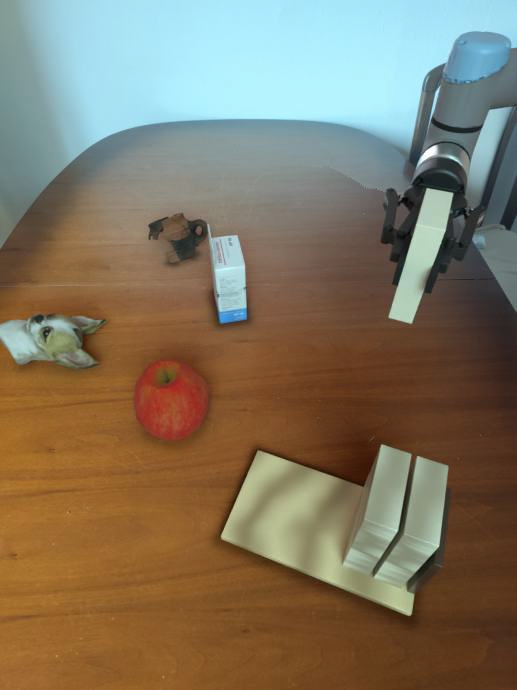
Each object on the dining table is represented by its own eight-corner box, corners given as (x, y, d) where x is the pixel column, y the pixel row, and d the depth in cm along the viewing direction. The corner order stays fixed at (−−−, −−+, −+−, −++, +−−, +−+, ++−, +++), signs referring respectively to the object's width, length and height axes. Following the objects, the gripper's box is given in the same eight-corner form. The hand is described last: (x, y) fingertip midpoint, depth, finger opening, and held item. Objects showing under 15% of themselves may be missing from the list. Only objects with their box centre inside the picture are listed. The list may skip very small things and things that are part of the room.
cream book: (421, 285, 62) (454, 192, 52) (412, 324, 57) (446, 230, 47) (398, 279, 63) (426, 187, 53) (387, 317, 58) (416, 224, 48)
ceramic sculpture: (-1, 292, 69) (100, 290, 70) (18, 331, 75) (110, 328, 77) (-23, 345, 62) (90, 341, 63) (1, 383, 68) (102, 378, 70)
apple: (215, 389, 68) (209, 342, 60) (207, 451, 61) (199, 407, 53) (147, 387, 68) (132, 340, 60) (132, 448, 61) (113, 405, 53)
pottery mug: (156, 270, 87) (139, 228, 84) (164, 260, 96) (148, 222, 93) (214, 251, 86) (199, 208, 83) (217, 242, 95) (204, 203, 92)
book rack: (424, 512, 55) (466, 453, 44) (409, 616, 48) (455, 577, 37) (257, 453, 61) (257, 387, 49) (221, 539, 53) (210, 484, 42)
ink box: (247, 320, 77) (245, 250, 66) (219, 324, 77) (212, 254, 66) (240, 288, 83) (237, 218, 72) (213, 291, 82) (206, 221, 71)
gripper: (487, 215, 66) (476, 322, 52) (378, 194, 70) (340, 287, 56) (509, 166, 61) (503, 270, 46) (389, 146, 65) (349, 236, 50)
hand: (414, 279), depth 51 cm, fingers closed on cream book, 3 cm apart
